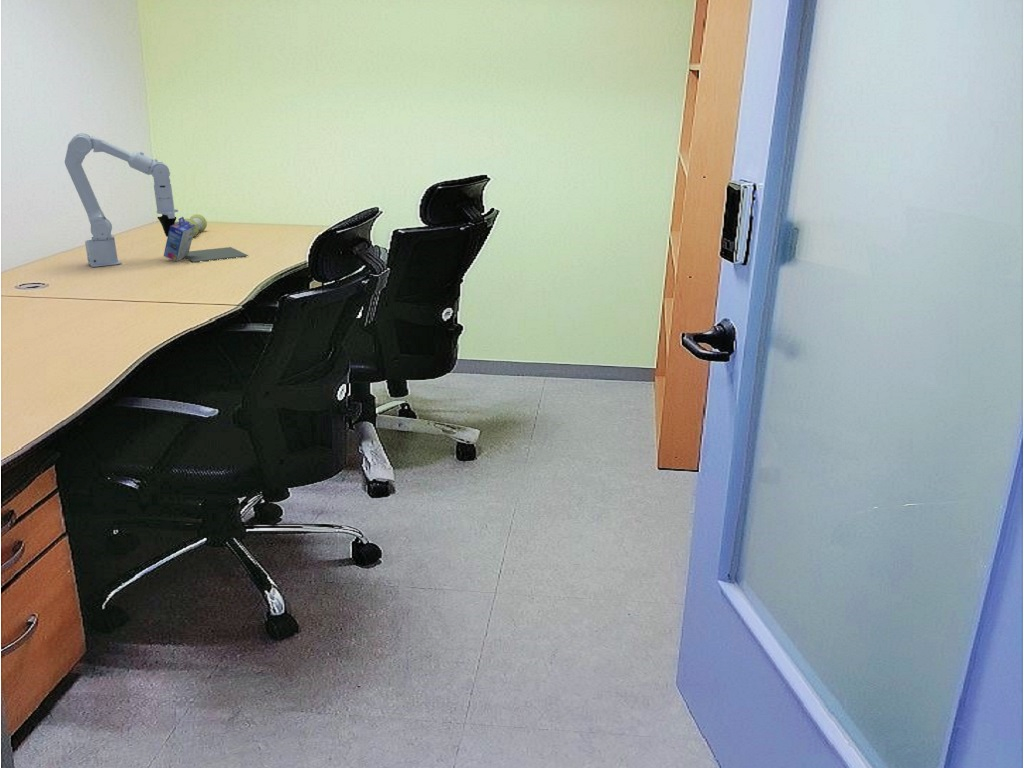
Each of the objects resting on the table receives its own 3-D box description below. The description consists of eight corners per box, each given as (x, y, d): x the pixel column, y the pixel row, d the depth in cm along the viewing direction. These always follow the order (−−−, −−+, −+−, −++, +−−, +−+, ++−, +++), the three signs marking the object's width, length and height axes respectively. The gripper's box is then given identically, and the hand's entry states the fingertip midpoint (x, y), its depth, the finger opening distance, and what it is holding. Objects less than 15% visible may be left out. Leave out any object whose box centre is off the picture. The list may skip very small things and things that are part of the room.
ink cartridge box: (174, 248, 306) (184, 213, 300) (188, 254, 306) (198, 219, 300) (161, 255, 297) (171, 219, 291) (176, 262, 297) (186, 226, 291)
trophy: (188, 213, 357) (167, 223, 329) (206, 213, 358) (186, 223, 329) (190, 232, 360) (169, 244, 331) (208, 232, 360) (189, 244, 332)
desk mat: (193, 262, 296) (192, 261, 296) (177, 253, 312) (177, 252, 311) (248, 256, 307) (248, 255, 307) (230, 248, 323) (230, 247, 322)
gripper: (181, 199, 291) (186, 238, 295) (170, 194, 302) (175, 232, 306) (160, 200, 287) (165, 240, 291) (150, 196, 298) (155, 234, 303)
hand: (169, 236), depth 299 cm, fingers closed
